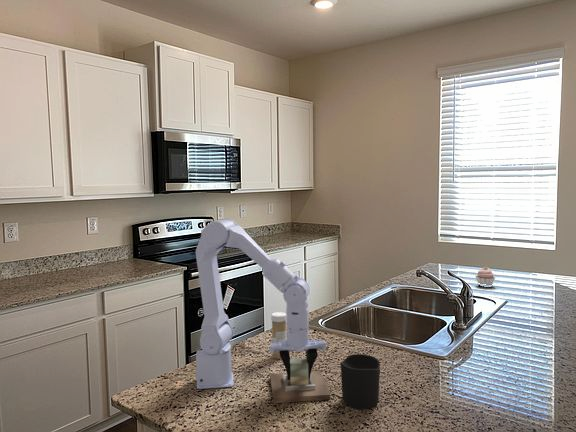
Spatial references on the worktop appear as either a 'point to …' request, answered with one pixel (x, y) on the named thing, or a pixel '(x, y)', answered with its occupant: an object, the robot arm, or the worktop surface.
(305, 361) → the block stack
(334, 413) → the worktop surface
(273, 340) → the sprinkles bottle
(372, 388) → the pen holder
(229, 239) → the robot arm
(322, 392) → the walnut board
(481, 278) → the cupcake
